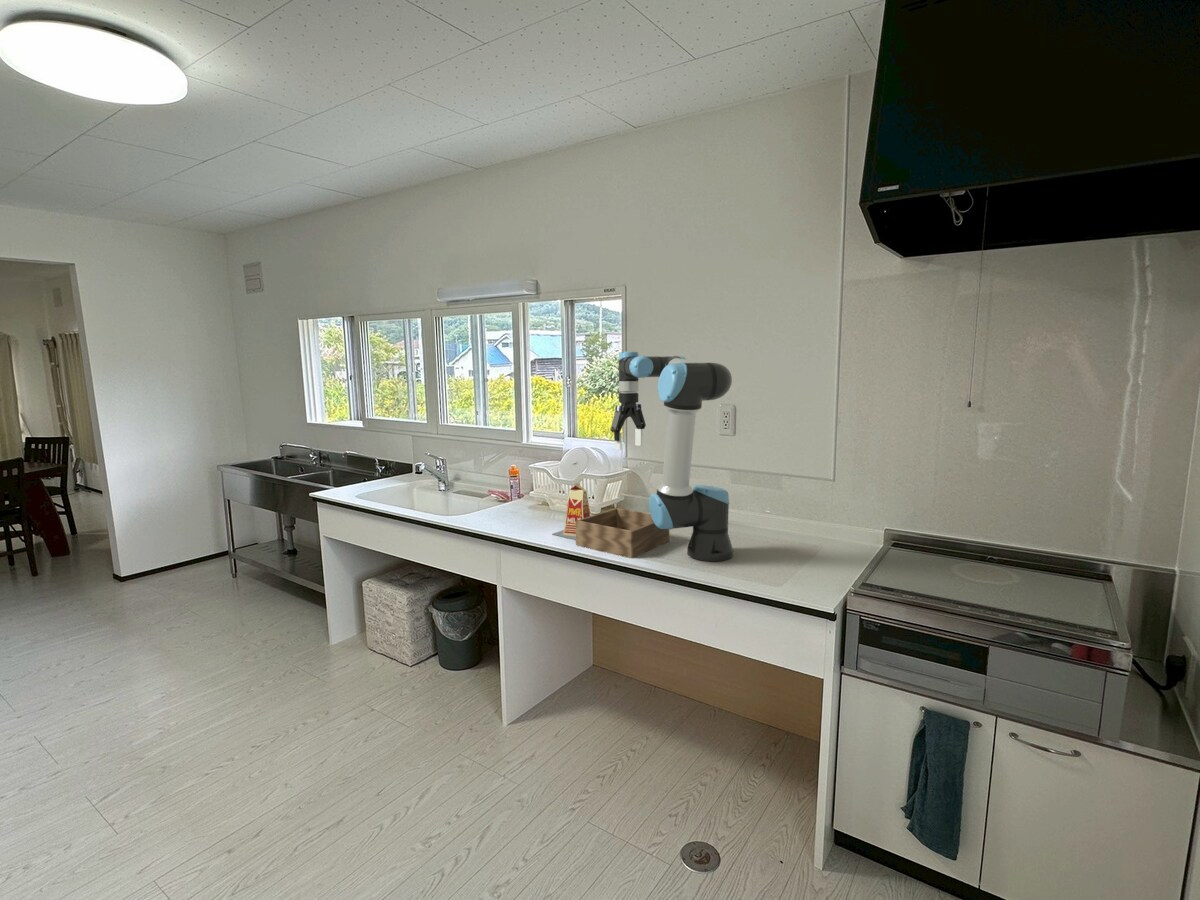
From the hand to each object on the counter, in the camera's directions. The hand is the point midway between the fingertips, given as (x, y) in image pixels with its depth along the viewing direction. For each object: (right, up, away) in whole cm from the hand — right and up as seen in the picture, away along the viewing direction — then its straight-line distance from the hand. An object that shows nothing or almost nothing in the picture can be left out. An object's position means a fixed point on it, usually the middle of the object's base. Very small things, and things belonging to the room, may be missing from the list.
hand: (628, 447), depth 237 cm
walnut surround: (-3, -35, -17) cm, 39 cm away
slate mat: (-19, -33, -4) cm, 38 cm away
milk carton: (-20, -33, -5) cm, 38 cm away
